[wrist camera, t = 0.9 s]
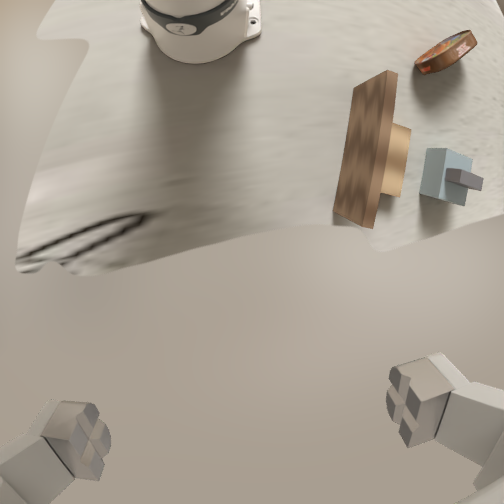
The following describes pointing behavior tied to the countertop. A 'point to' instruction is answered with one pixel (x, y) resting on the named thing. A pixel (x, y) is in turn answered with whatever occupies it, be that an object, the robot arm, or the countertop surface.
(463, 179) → the blue block with handle
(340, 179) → the brown wooden piece
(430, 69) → the tin
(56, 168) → the countertop surface
